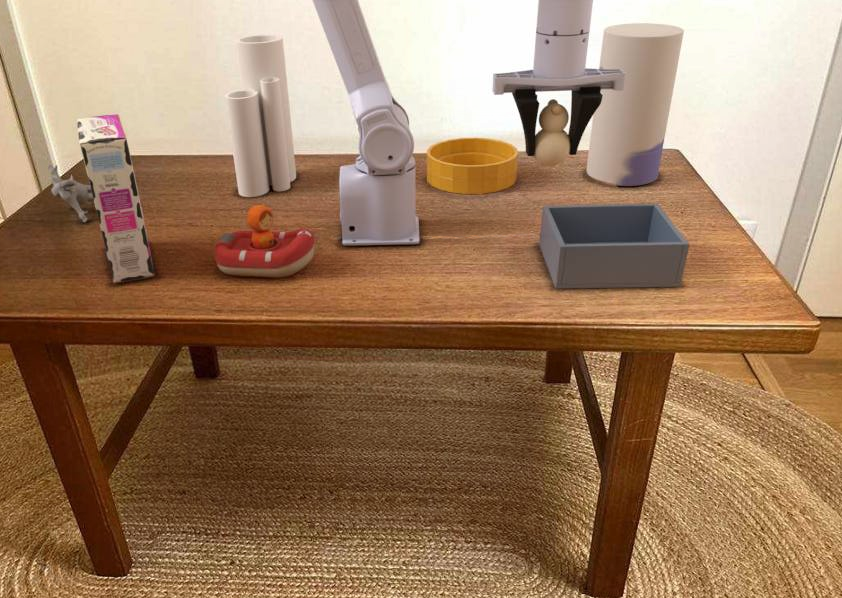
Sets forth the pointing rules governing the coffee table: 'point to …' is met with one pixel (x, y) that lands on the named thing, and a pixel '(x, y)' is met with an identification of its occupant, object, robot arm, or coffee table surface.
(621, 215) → the bin
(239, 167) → the vase
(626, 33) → the container
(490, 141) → the bowl
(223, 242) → the toy boat
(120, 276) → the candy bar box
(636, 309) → the coffee table surface
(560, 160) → the beige rounded figure
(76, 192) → the elephant figurine
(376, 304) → the coffee table surface
